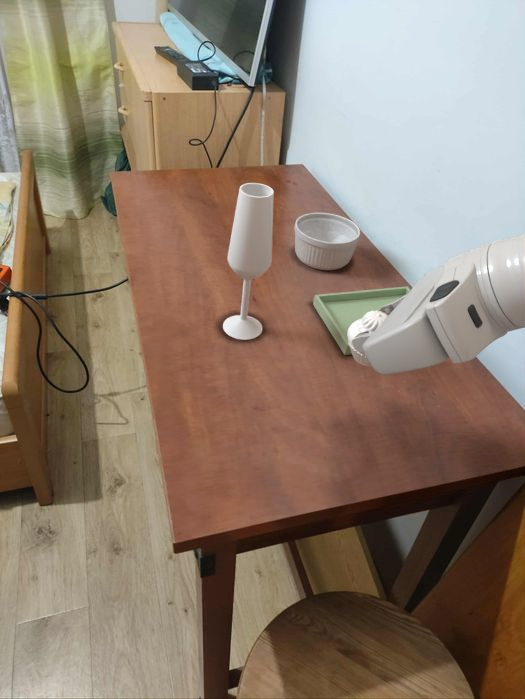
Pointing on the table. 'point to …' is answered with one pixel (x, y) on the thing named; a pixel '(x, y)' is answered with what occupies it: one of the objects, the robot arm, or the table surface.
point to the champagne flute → (250, 251)
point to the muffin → (365, 324)
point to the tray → (352, 309)
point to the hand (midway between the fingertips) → (369, 329)
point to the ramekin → (325, 240)
